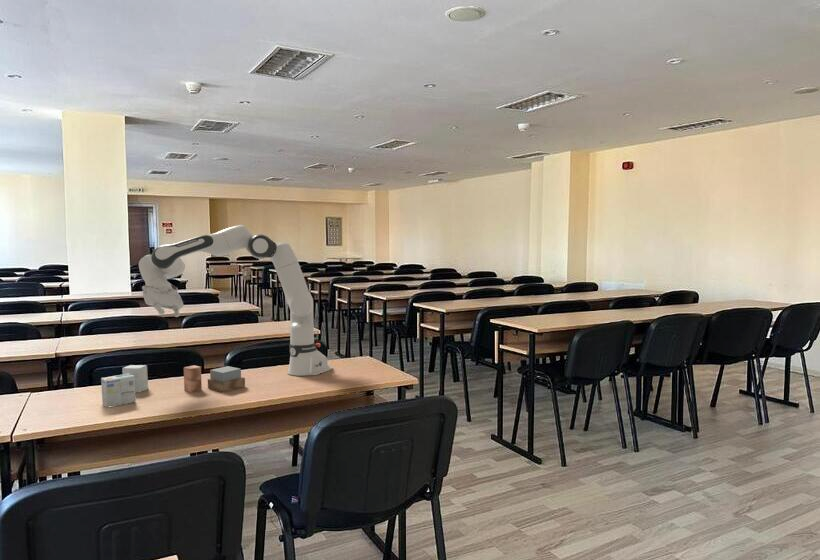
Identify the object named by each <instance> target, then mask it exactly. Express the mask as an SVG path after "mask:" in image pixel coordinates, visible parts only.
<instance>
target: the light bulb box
mask: <svg viewBox="0 0 820 560" xmlns="http://www.w3.org/2000/svg"><path fill="white" fill-rule="evenodd" d="M100 383H101V385H100V386H101V398H102V399H101V401H102V405H103V404H104V405H105V406H106V408H107V407H108V408H110V407H109V406H113V407H118V406H117V405H119V406H122V404H124V405H127V404H128V403H129V404H133V403H132V402H134V403H136V402H137V400H136V392H135V378H134V375H131V374H129V373H128V374H123V373H122V374H119V375H118V374H117V375H112V376H107V377H106V376H105V377H101V378H100ZM104 405H103V406H104ZM105 406H104V407H105Z"/></svg>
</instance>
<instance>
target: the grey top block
mask: <svg viewBox="0 0 820 560" xmlns="http://www.w3.org/2000/svg"><path fill="white" fill-rule="evenodd" d="M241 370H242V369H241V368H239V367H233V366H229V365H227V366H223V367H218V368H217V367H216V368H213V369H210V371H209V374H210V375H209V376H210V378H209V379H212V380H216V381H220V382H226V381H230V380H234V379H238V378H241V377H242V371H241Z"/></svg>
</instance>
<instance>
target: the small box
mask: <svg viewBox="0 0 820 560" xmlns="http://www.w3.org/2000/svg"><path fill="white" fill-rule="evenodd" d="M121 371H122V374H128V373H129V374H131V375H134V378H135V393H142V391H143V392H144V391H147V390H149V378H148V377H149V376H148V365H146V364H144V365H143V364H139V365H138V364H137V365H135V364H129V365H126V366H125V367H122V370H121Z"/></svg>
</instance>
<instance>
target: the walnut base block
mask: <svg viewBox="0 0 820 560" xmlns="http://www.w3.org/2000/svg"><path fill="white" fill-rule="evenodd" d="M241 387H243V388H246V378H245V377H244V376H241V378H238V379H234V380H230V381H226V382H220V381H216V380H212V379H210V378H207V389H208V388H209V390H212V389H213V390H212V391H215V390H217V391H216V392H219V391H220V393H223V392H224V393H227V392H231V391H234V389H235V390H239V389H242V388H241ZM238 388H239V389H238ZM230 390H231V391H230ZM226 391H227V392H226Z"/></svg>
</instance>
